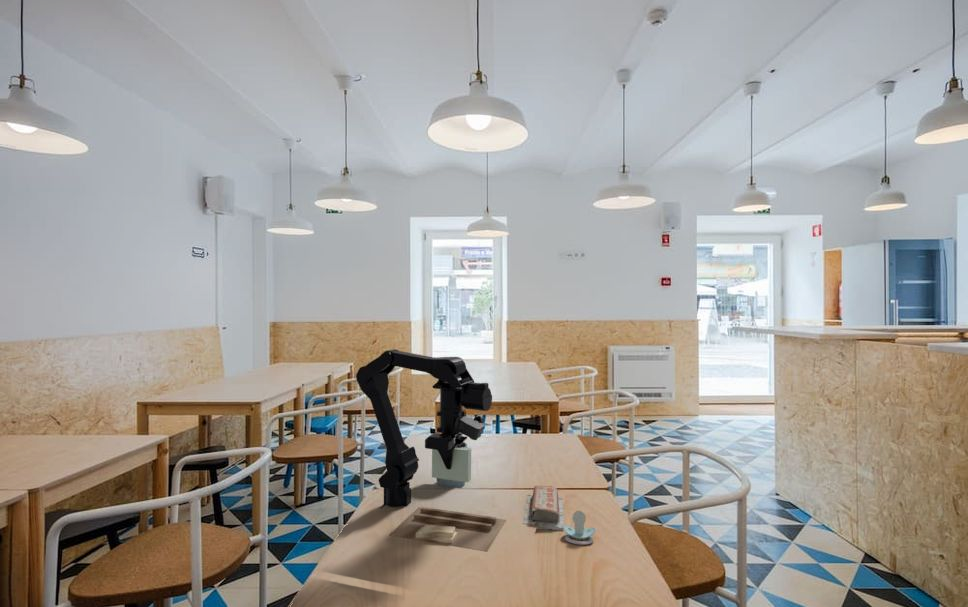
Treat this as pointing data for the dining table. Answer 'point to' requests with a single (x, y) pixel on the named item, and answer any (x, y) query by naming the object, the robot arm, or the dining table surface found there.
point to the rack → (470, 527)
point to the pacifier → (579, 530)
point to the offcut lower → (436, 537)
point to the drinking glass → (451, 482)
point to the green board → (453, 465)
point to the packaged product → (545, 508)
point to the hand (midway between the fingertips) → (450, 467)
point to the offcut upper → (438, 531)
